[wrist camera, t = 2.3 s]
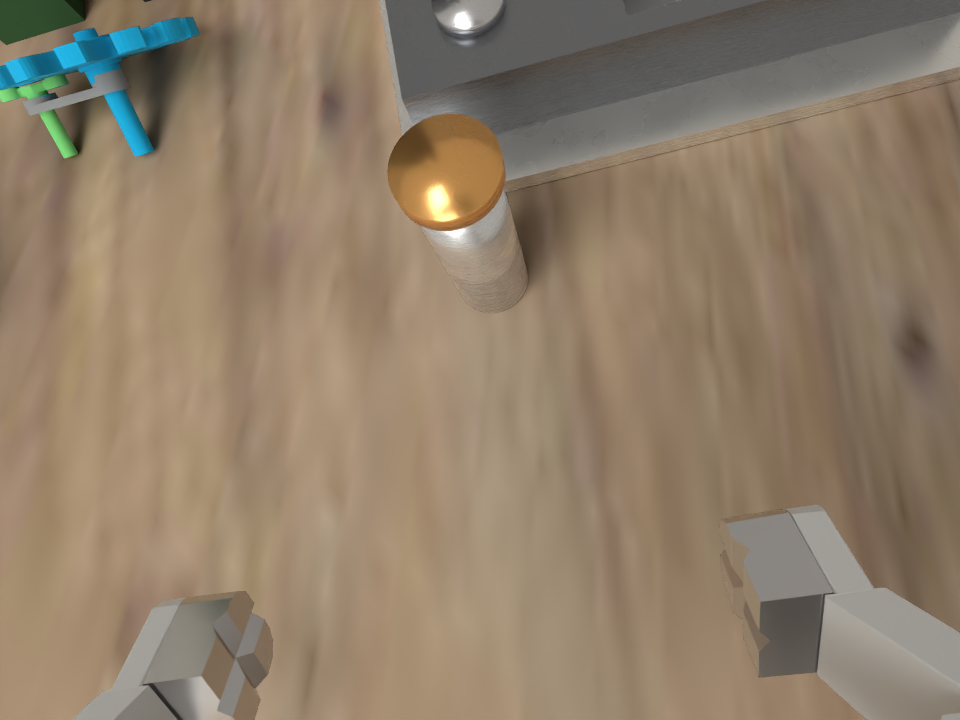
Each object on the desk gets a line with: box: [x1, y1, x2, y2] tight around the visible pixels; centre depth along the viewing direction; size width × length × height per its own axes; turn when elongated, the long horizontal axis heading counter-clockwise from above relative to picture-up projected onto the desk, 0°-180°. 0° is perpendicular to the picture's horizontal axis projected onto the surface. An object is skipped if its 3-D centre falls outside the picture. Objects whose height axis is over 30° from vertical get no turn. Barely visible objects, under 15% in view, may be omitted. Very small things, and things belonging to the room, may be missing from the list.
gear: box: [0, 17, 200, 158], centre depth 33 cm, size 11×6×10 cm
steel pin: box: [388, 114, 528, 313], centre depth 25 cm, size 4×4×10 cm
